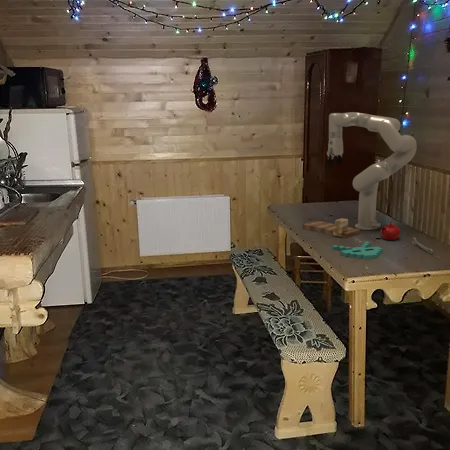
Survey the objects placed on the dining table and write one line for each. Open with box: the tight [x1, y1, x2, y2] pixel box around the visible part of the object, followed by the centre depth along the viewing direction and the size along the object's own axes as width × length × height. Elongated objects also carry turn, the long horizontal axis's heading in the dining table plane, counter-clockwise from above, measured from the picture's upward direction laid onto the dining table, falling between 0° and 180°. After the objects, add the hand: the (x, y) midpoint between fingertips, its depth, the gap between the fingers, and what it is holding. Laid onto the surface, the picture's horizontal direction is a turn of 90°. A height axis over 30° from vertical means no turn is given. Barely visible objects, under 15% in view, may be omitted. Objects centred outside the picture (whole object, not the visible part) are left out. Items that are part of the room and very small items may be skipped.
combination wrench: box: [411, 237, 434, 255], centre depth 257 cm, size 4×1×20 cm
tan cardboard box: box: [332, 218, 349, 238], centre depth 282 cm, size 5×7×8 cm
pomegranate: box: [380, 221, 401, 241], centre depth 275 cm, size 10×10×9 cm
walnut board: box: [302, 220, 361, 239], centre depth 293 cm, size 30×12×3 cm, turn 41°
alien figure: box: [331, 241, 384, 260], centre depth 254 cm, size 20×2×20 cm
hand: (335, 165), depth 303 cm, fingers open, 9 cm apart
